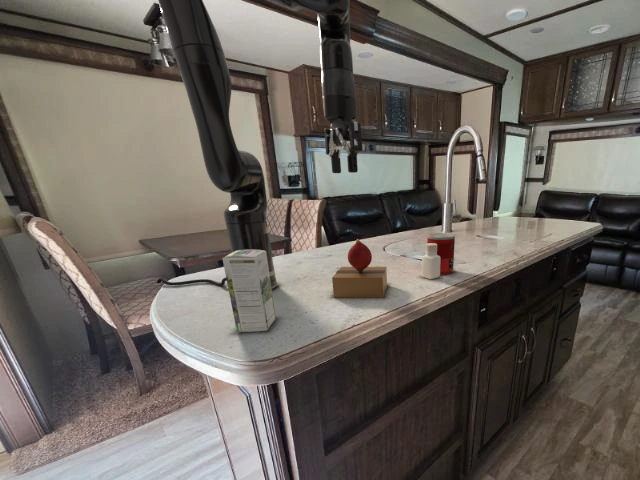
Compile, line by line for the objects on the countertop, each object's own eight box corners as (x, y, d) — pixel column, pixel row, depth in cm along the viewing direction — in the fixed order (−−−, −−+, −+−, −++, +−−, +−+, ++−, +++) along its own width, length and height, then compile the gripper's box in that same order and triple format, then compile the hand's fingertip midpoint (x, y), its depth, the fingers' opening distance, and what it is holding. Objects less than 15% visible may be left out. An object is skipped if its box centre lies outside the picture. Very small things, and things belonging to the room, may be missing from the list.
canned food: (454, 274, 92) (456, 237, 88) (427, 275, 93) (428, 237, 89) (451, 268, 100) (452, 232, 96) (426, 268, 100) (426, 233, 96)
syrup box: (247, 320, 64) (233, 249, 59) (277, 319, 65) (266, 248, 59) (236, 333, 59) (219, 256, 54) (269, 331, 59) (255, 255, 54)
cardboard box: (333, 297, 76) (331, 277, 74) (342, 284, 85) (341, 266, 84) (383, 297, 75) (382, 277, 74) (387, 284, 85) (386, 266, 83)
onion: (374, 268, 81) (372, 237, 78) (369, 275, 76) (368, 241, 73) (351, 268, 82) (349, 237, 79) (346, 274, 76) (343, 241, 73)
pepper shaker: (420, 277, 91) (421, 244, 87) (430, 274, 93) (431, 242, 90) (430, 280, 88) (431, 246, 85) (440, 277, 90) (441, 244, 87)
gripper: (311, 100, 76) (318, 173, 81) (338, 87, 65) (344, 172, 71) (339, 104, 80) (344, 173, 85) (369, 92, 69) (372, 172, 75)
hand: (344, 172), depth 78 cm, fingers open, 8 cm apart
